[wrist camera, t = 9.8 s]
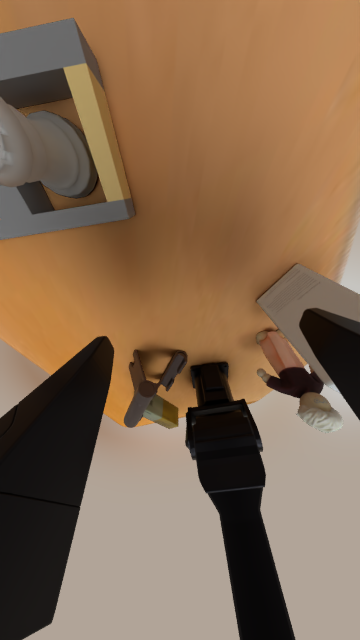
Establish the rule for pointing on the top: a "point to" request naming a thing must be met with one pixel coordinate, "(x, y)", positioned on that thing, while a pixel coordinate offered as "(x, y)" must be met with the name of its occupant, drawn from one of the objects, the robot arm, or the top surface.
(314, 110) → the top surface
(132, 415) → the portable electronic device stand
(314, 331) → the robot arm
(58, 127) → the rook chess piece
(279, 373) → the grandmother figurine
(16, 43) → the rail
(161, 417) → the medication box
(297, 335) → the skincare box
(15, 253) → the top surface
